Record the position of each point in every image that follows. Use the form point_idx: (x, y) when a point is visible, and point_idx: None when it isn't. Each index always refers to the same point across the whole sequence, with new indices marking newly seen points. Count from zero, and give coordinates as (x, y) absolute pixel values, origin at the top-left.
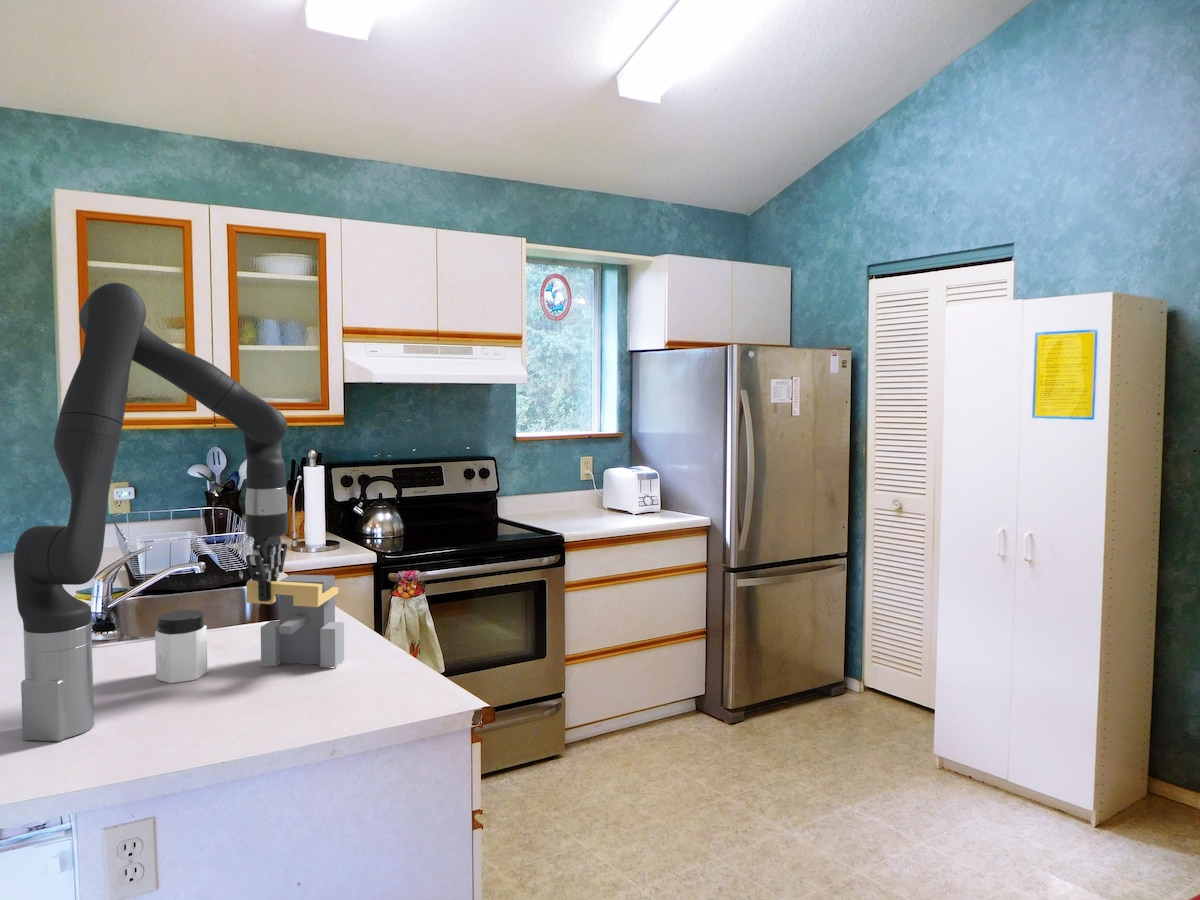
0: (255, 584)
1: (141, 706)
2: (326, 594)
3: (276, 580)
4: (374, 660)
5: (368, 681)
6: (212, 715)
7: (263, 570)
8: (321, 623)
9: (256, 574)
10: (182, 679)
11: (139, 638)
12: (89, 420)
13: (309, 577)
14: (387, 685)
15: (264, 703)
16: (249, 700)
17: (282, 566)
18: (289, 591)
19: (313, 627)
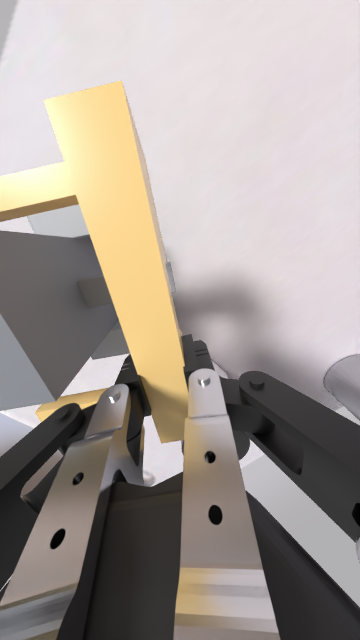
0: None
1: (290, 355)
2: (29, 175)
3: (130, 377)
4: (44, 158)
5: (149, 93)
6: (317, 268)
7: (313, 418)
8: (72, 244)
9: (267, 430)
10: (219, 368)
11: None
12: None
13: None
14: (157, 22)
15: (274, 228)
16: (265, 257)
17: (39, 432)
18: (168, 281)
19: (84, 263)
